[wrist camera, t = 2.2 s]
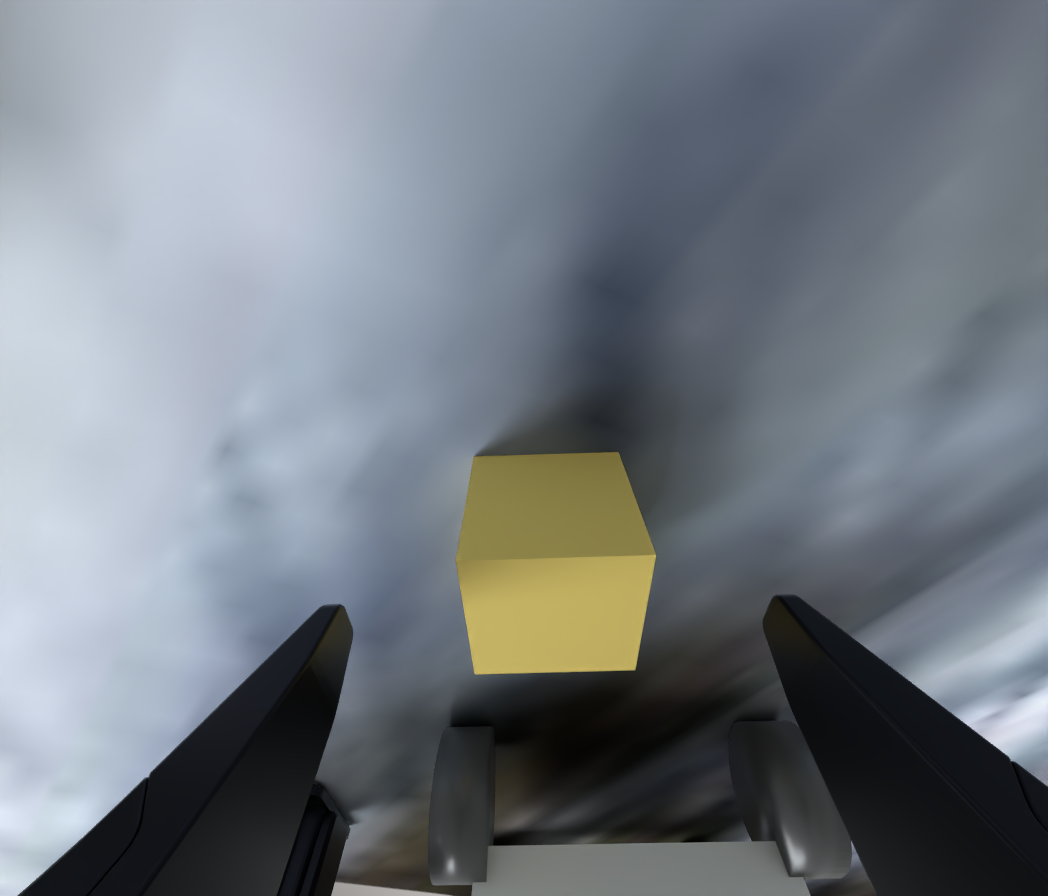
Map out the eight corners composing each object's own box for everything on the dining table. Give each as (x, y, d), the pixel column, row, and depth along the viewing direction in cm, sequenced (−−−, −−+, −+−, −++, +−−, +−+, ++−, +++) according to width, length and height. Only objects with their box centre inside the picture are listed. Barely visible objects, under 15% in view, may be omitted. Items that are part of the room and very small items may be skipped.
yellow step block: (490, 595, 15) (481, 716, 12) (474, 453, 12) (456, 561, 9) (603, 592, 15) (627, 712, 12) (617, 448, 12) (656, 554, 8)
